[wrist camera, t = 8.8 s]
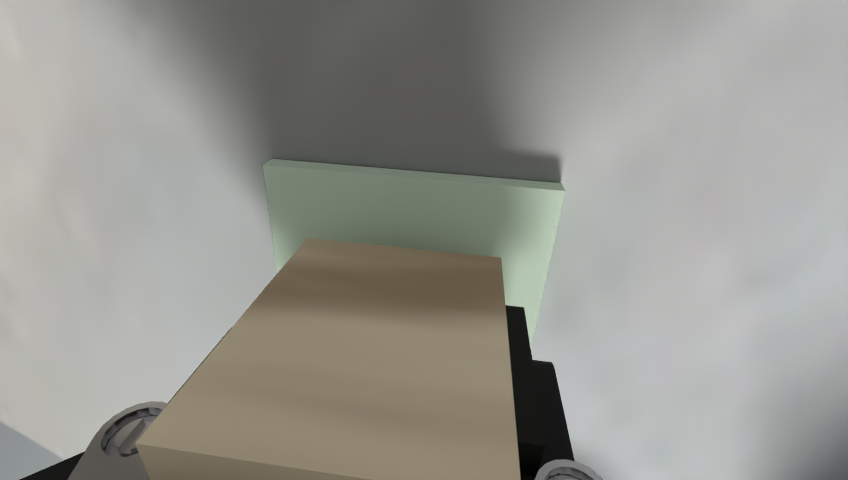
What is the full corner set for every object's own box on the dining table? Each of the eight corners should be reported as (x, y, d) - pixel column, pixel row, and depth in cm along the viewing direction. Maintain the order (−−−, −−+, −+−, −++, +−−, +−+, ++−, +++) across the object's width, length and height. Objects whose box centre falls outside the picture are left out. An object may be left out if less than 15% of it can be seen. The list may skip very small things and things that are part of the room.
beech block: (306, 237, 11) (135, 443, 5) (501, 257, 10) (522, 503, 5) (320, 378, 13) (208, 619, 8) (479, 399, 13) (477, 670, 7)
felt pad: (272, 158, 12) (262, 165, 11) (561, 183, 11) (565, 190, 10) (298, 368, 15) (291, 381, 15) (516, 397, 15) (517, 411, 14)
